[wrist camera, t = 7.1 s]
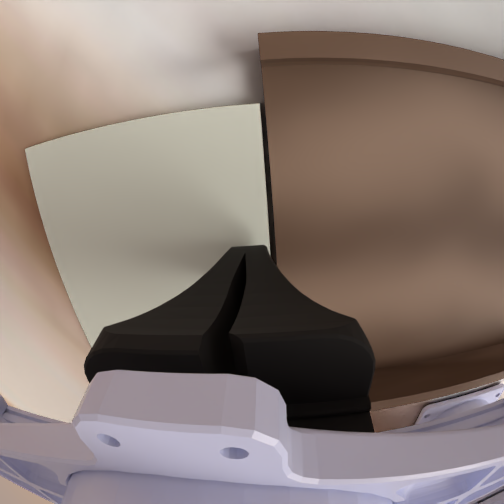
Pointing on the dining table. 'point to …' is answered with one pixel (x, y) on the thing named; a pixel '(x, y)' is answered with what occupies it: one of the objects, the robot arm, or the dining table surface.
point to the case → (393, 199)
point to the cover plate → (149, 206)
